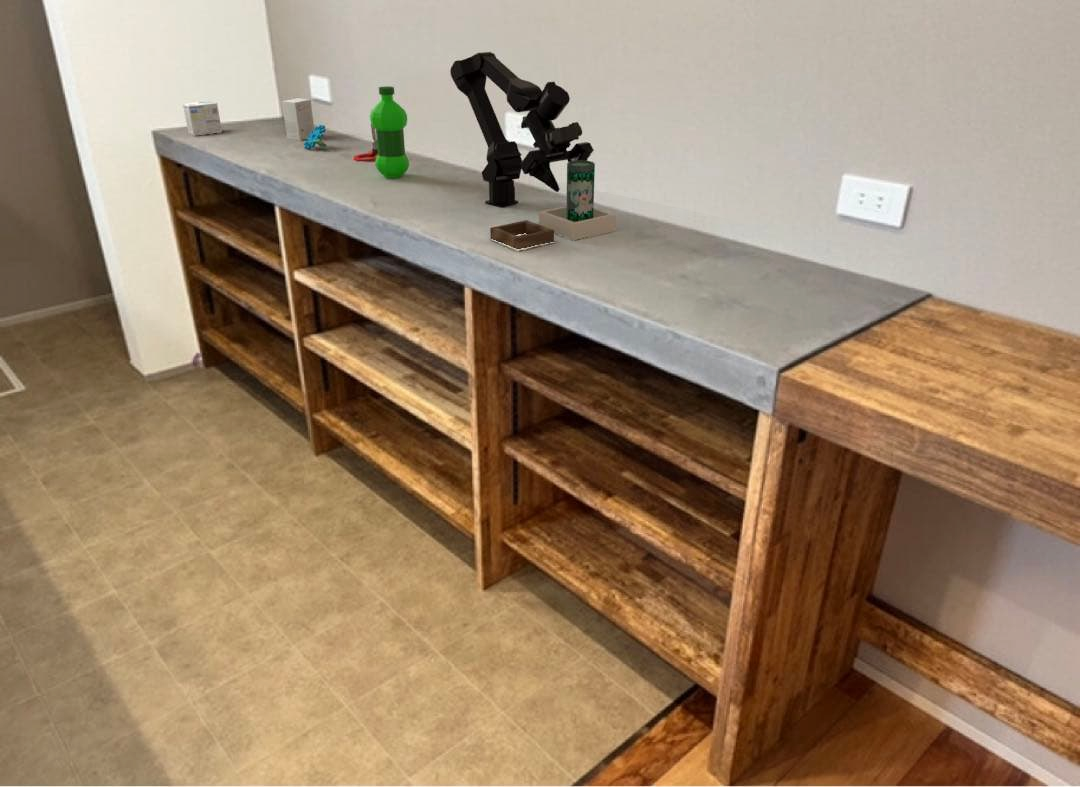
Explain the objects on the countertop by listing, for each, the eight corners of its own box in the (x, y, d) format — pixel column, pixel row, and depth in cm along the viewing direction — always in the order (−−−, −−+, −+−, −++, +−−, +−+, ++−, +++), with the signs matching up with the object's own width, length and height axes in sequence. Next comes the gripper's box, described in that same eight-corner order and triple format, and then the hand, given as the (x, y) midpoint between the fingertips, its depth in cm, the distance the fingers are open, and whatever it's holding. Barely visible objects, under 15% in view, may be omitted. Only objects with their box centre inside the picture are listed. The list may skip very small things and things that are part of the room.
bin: (538, 228, 200) (538, 211, 198) (579, 218, 207) (580, 203, 205) (573, 241, 191) (573, 224, 189) (615, 231, 198) (615, 214, 196)
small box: (302, 135, 302) (297, 97, 296) (315, 137, 300) (311, 99, 294) (286, 139, 296) (281, 100, 290) (300, 140, 293) (295, 102, 287)
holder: (490, 240, 191) (490, 227, 190) (526, 232, 197) (526, 220, 195) (517, 251, 184) (517, 238, 182) (554, 243, 190) (554, 230, 188)
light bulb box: (216, 130, 310) (211, 100, 305) (223, 133, 305) (218, 102, 300) (187, 133, 304) (181, 103, 299) (193, 136, 299) (188, 105, 294)
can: (570, 231, 195) (571, 166, 188) (564, 223, 200) (565, 160, 193) (595, 229, 196) (597, 165, 189) (588, 222, 201) (590, 159, 194)
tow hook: (366, 164, 263) (387, 158, 269) (360, 122, 256) (382, 117, 263) (348, 161, 267) (369, 154, 274) (342, 119, 261) (364, 114, 267)
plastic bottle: (377, 172, 251) (369, 85, 239) (412, 172, 251) (406, 84, 240) (373, 180, 242) (365, 90, 230) (409, 180, 243) (403, 89, 231)
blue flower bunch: (299, 141, 284) (318, 119, 283) (313, 152, 288) (332, 130, 287) (306, 152, 276) (326, 129, 275) (320, 163, 280) (339, 141, 278)
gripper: (528, 115, 187) (559, 174, 184) (590, 107, 197) (619, 162, 195) (507, 145, 196) (536, 201, 193) (567, 135, 206) (595, 189, 204)
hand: (573, 188), depth 196 cm, fingers open, 9 cm apart
